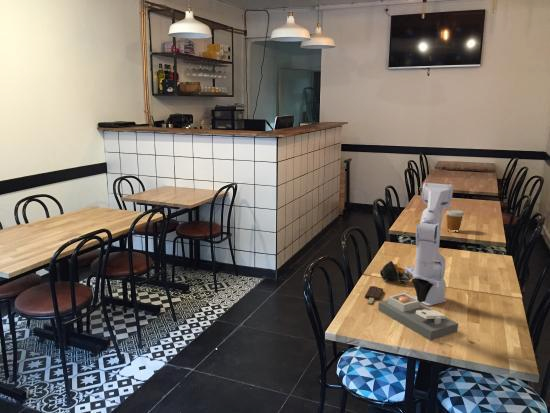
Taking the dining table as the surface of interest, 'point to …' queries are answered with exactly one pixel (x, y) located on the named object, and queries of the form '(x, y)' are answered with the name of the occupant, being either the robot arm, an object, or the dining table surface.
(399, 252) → the dining table surface
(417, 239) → the robot arm
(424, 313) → the rocker switch
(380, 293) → the ice cream bar
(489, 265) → the dining table surface
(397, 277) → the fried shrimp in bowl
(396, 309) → the grey board with tray
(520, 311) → the dining table surface
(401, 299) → the button
